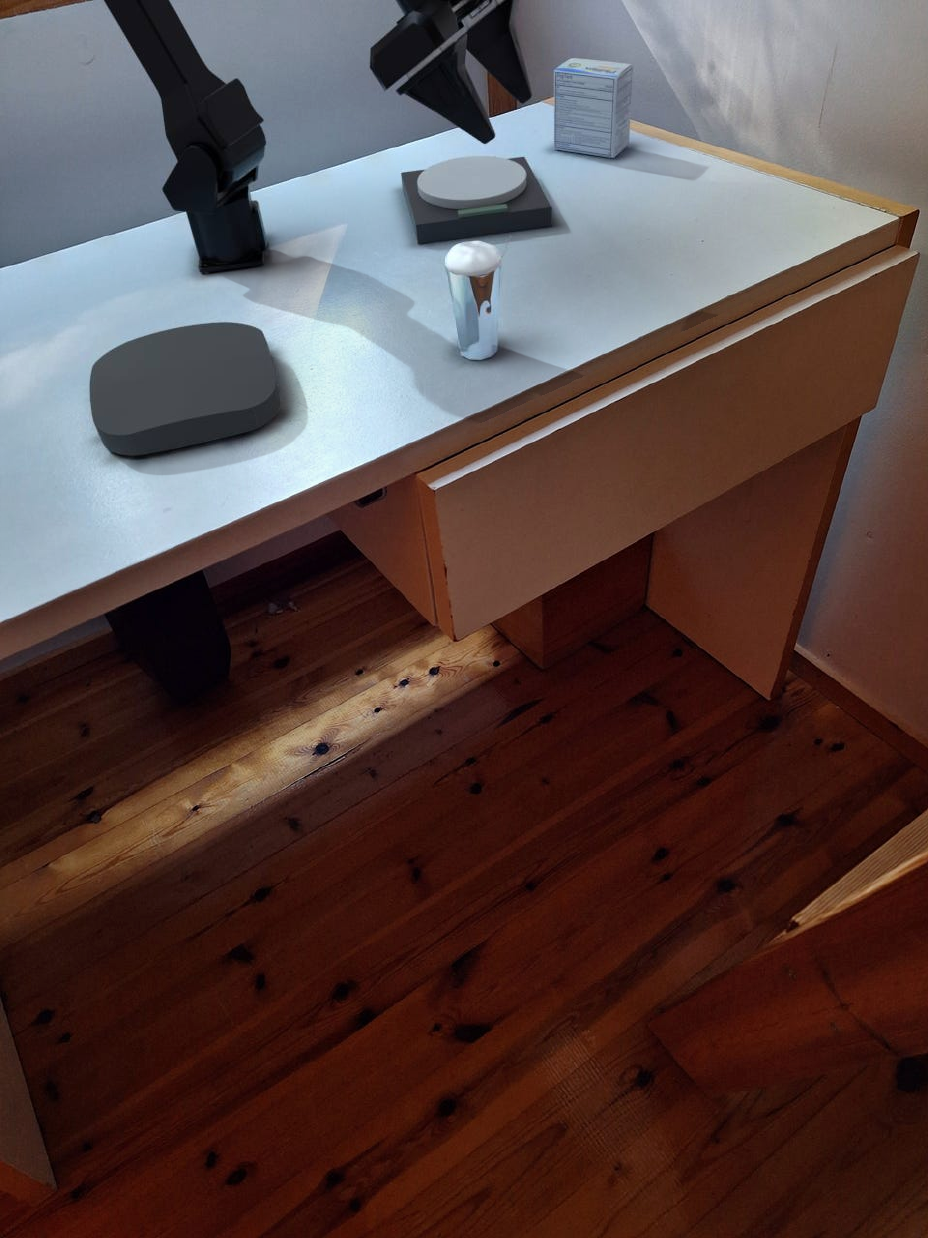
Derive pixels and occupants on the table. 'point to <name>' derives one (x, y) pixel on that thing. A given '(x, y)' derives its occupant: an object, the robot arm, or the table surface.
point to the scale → (474, 198)
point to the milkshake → (475, 296)
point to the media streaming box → (183, 388)
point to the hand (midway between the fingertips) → (509, 119)
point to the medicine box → (592, 106)
